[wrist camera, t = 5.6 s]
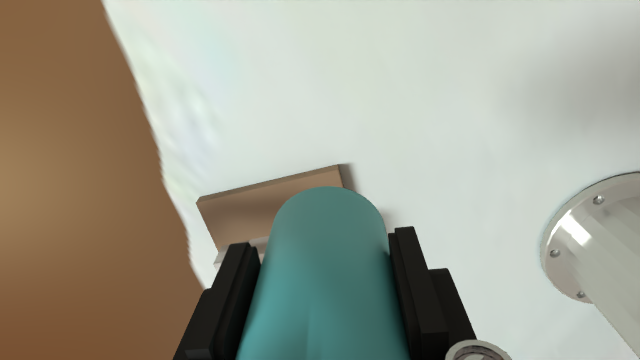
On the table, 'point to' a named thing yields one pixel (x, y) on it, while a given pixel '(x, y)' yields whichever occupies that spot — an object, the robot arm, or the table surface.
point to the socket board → (256, 208)
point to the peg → (325, 284)
